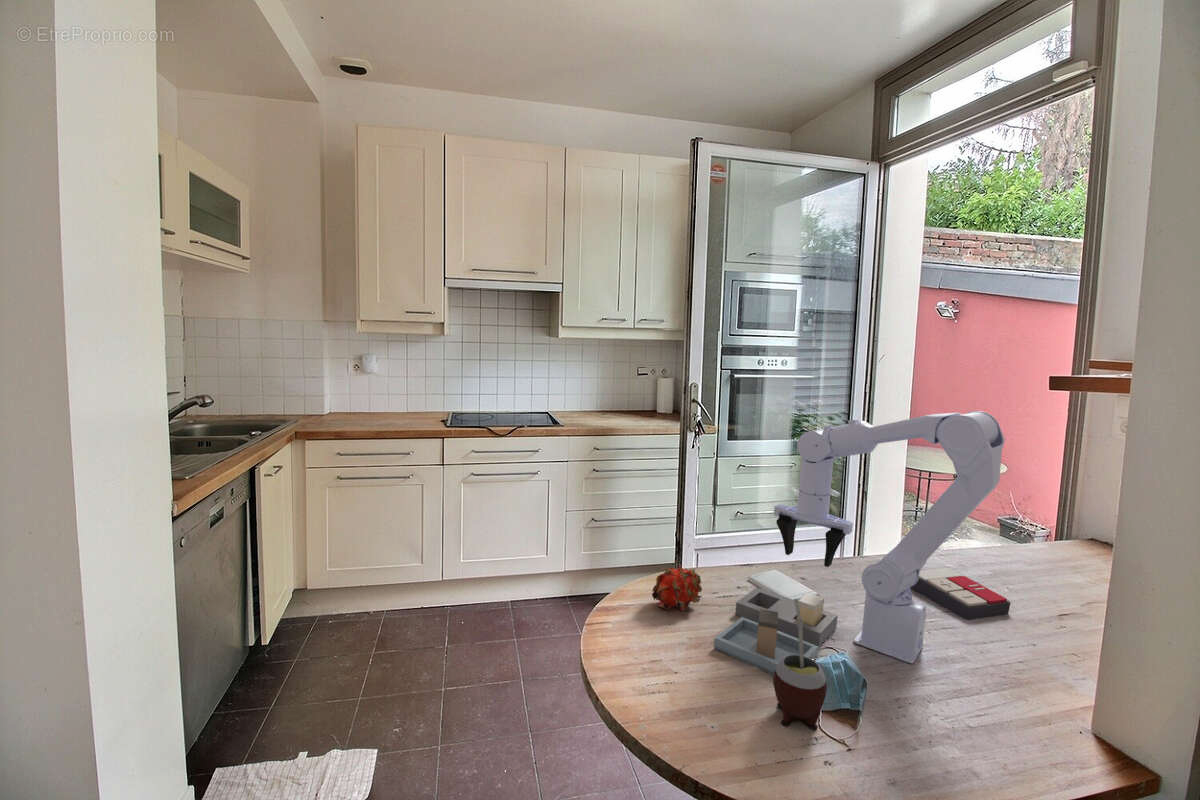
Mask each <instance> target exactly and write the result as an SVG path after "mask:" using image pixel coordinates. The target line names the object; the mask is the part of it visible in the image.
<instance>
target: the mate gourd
mask: <svg viewBox="0 0 1200 800" xmlns="http://www.w3.org/2000/svg"><path fill="white" fill-rule="evenodd" d="M794 603H795V607H796V611H797V617H798V621H797V624H798V625H797V626H798V630H799V655H788V656H786V657H784V658H783V659H781V660H780V662H779V663H778V665H777V667H776V670H775V673H774V675H773V677H772V678H773V679H772V684H773V690H774V693H775V697H776V700H777V703H776V707H777V708H779V710H781V711H782V715H783V716H782V717H783V720H781V721H780V722H781V723H780V724H781V726H783V727H784V728H787V727H789V726H790V725H792V724H794V723H796V722H799V723H801V724H802V725H803V726H805V727H807V728H808V729H810V730H812V731H813V732H815V731H817V730H818V725H817V724H816V723H817V722H818V720H819V717H820V714H821V712H822V711H821V710H822V707H823V705H824V702H825V698H826V696H827V690H828V685H827V677H826V676H825V673H824V670H823V668H822V667H821V665H820V664H818V663H817V662H816V660H815V661H814V660H812V659H810V658H808V657H805V656H803V633H802V628H803V621H802V618H801V613H800V608H799V604H798V600H797V599H794Z"/></svg>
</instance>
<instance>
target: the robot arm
mask: <svg viewBox="0 0 1200 800" xmlns="http://www.w3.org/2000/svg"><path fill="white" fill-rule="evenodd" d="M913 439H923V440H925V441H926V442H928V443H930V444H932V445H936V444H939V445H940V447H941V448H942V450H943V451H944V452H945V454H946V455H947V456H948V458H949V459H950V461H951V463H952V464H953V467H954V470H955V474H956V478H955V480H954V481H952V483H951V484H950V485H949V486H948V488H947V489H946V490H945V491H944V492H943V493H942V494H941V495H940V497H938V499H937V500H936V501H935V502H934V503H933V504H932V506H931V507H929V509H927V511H926V512H925V513H924V514H923V516H921V518H920V519H919V520H918V521H917V523H915V525H914V526H913V527H912V528H911V529H910V530H909V531H908V532H907V533H906V535H905V536H904V537H903V538H902V539H901V540H900V541H899V542H898V544H897V545H896V546H895V547H893V548H892V549H891V550H890V551H889V552H888V553H886V554H885V555H884V556H883V557H882V558H881V559H880V560H878V561H877V562H875V563H872V564H869V565H868V566H866V567H865V568H864V570H863V571H862V573H861V583H862V586H863V589H864V590H865V597H864V598H865V599H864V608H863V609H864V610H863V618H862V625H861V626H862V627H861V630H860V632H859V633H858V634H857V635H856V637H855V638H854V639H853V642H854V644H857V645H860V646H862V647H865V648H868V649H871V650H873V651H876V652H879V653H881V654H884V655H886V656H887V655H888V656H890V657H892V658H895V659H897V660H899V661H904V662H906V663H908V664H914V662H915V661H916V659H917V657H918V655H919V653H920V651H921V650H922V648H923V647H924V635H925V634H924V633H925V625H926V624H925V623H926V616H927V609H926V608H927V607H926V606H925V605H923V604H920V603H918V602H916V601H915V600H914V599H913V594H912V589H911V586H913V585H915V584H916V583H917V581H918V579H919V573H920V571H922V568H923V567H924V566H925V565H926V563H927V561H928V559H929V558H931V557H932V555H933V554H934V553H935V552H936V551H937V550H938V549H939V547H941V546H942V545H943V543H945V542H946V540H948V538H950V536H951V535H952V534H953V533H955V531H956V530H957V529H958V528H959V527H960V526H961V525H962V523H963V522H964V521H965V520H966V519H967V518H968V517H969V516H970V515H971V514H972V513H973V512H974V511H975V510H976V509H977V508H978V506H980V504H981V503H982V502H983V501H984V500H985V499H987V497H988V496H989V495H990V494H991V493H992V492H993V491H994V490H995V489H996V487H998V485H999V482H1000V478H1001V466H1002V465H1001V464H1002V452H1003V448H1004V444H1005V441H1006V439H1005V437H1004V434H1003V430H1002V429H1001V425H1000V423H999V422H998V420H997V418H995V417H994V416H993V415H992V414H990V413H989V412H985V411H983V410H973V411H972V410H971V411H968V412H965V413H964V414H962V412H950V413H949V412H947V413H944V412H943V413H933V414H927V415H922V416H917V417H912V418H908V419H903V420H899V421H895V422H889V423H885V424H881V425H872V424H870V423H869V422H867V421H865V420H860V421H859V419H858V418H854V419H850V420H848V421H847V423H846V424H841V425H836V426H835V425H834V426H832V425H831V424H829V425H825V426H823V429H822V428H821V429H816V430H814V429H813V430H809V431H806V432H804V433H803V434H801V435H800V437H799V438H798V440H797V444H796V445H797V446H796V448H797V451H798V454H799V456H800V457H801V464H800V471H799V473H800V474H799V484H798V495H797V506H792V505H785V504H780V503H778V504H776V505H774V508H773V516H775V517H778V518H777V519H776V526H777V528H778V530H779V532H780V534H781V537H782V542H783V546H784V552H785V553H784V554H785V555H786V556H790V555H791V554H792V553H793V551H794V545H795V535H796V534H795V533H796V528H797V524H798V521H800V522H803V523H807V524H811V525H816V526H819V527H824V528H826V529H829V530H827V531H826V532H825V535H824V536H825V555H824V562H823V566H824V567H826V568H829V567H830V566H831V565H832V564H833V560H834V557H835V554H836V552H837V550H838V547H840V544H841V543H842V542H843V539H844V538H845V537H846V535H849V534H851V533H853V527H854V522H853V521H850V520H846V519H843V518H840V517H837V516H835V515H832V514H829V513H830V502H831V489H832V481H833V469H834V461H835V458H844V457H849V456H855V455H857V456H858V455H862V454H869V453H872V452H873V451H874V450H875V449H876V447H877V446H878V445H879V444H883V443H885V444H886V443H892V442H899V441H906V440H913Z"/></svg>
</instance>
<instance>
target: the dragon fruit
mask: <svg viewBox="0 0 1200 800" xmlns="http://www.w3.org/2000/svg"><path fill="white" fill-rule="evenodd" d="M655 581H656V583H655V585H654V586H653V588H652V591H651V592H652V594H651V596H652V598H653V601H659V602H658V603H657V607H658V608H659V609H660V608H663V609H665V610H667V609H668V610H669V609H670V608H673V607H675V608H677V609H679V610H680V611H681V612H684V611H685V610H687V609H688V608H689V606H690V604H691V602H692V603H695V604H696V603H699V602H700V599H701V598H702V594H700V595H699V593H701V592H702V590H703V587H702V586H701V584H702V579H701V575H699V574H698V573H696V570H695V569H693V568H689V569H687V568H683V566H682V565H680V564H679V565H678V566H677V568H674V567H668V569H666V570H665V571H664V572H662V573H661V574H659V575H658V576H657V577H656V578H655Z"/></svg>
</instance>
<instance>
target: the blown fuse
mask: <svg viewBox="0 0 1200 800" xmlns="http://www.w3.org/2000/svg"><path fill="white" fill-rule="evenodd" d="M777 625H778V612H774V611H769V610H764V609H760V614H759V623H758V636H757V648H756V653H758V654H761V655H763V656H766V657H768V658H772V659H775V650H776V638H777Z"/></svg>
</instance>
